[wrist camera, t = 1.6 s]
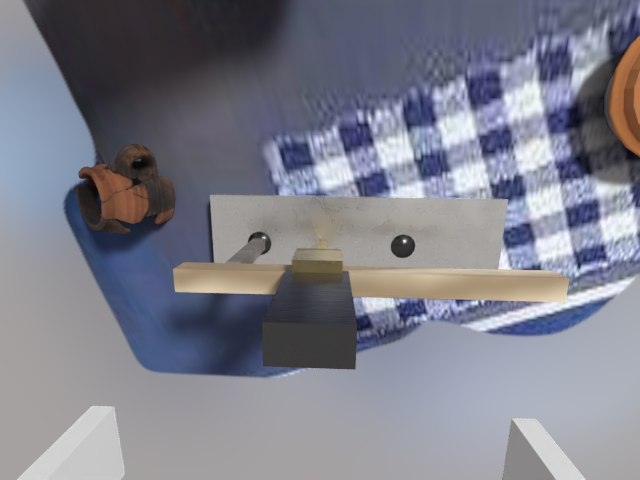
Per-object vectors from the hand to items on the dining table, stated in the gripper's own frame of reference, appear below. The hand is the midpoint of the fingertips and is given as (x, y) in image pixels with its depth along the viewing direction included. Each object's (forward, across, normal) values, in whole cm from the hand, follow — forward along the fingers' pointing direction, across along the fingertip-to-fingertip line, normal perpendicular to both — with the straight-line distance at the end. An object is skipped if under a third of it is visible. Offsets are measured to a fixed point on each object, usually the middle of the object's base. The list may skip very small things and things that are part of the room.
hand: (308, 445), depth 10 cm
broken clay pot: (+32, -24, +7) cm, 41 cm away
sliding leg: (+29, 0, 0) cm, 29 cm away
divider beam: (+30, +4, 0) cm, 30 cm away
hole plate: (+32, +4, 0) cm, 32 cm away
